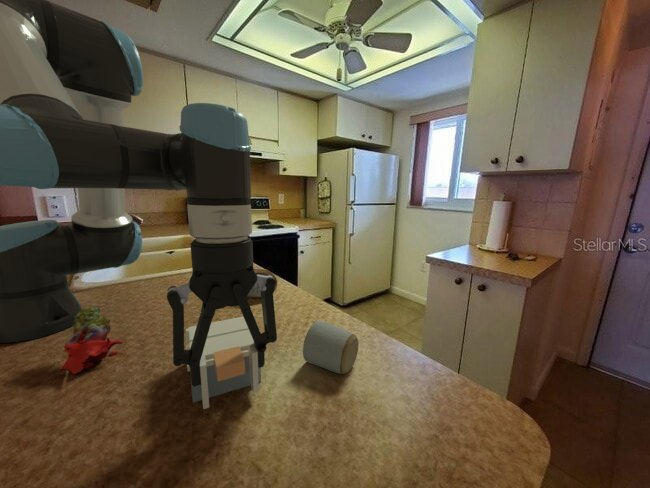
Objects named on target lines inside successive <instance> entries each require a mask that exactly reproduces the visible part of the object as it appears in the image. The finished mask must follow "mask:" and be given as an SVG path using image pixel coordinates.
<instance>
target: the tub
mask: <svg viewBox="0 0 650 488" xmlns="http://www.w3.org/2000/svg"><path fill="white" fill-rule="evenodd" d="M243 358H244V360H245V374H243V375H239V376H236V377H232V378H229V379H225V380H222V381H217V375H216V370H215V365H211V366H207V367H206V368H207V382H208V396H209V399H210V398H213V397H217V396H220V395H223V394H226V393H229V392H233V391H236V390H240V389H242V388H246V387H250V386H251V384H250V378H249V356H246V357H243ZM189 375H190V376H191V372H190V371H189ZM258 381H259V383H261V382H262V367H261V368H258ZM190 385H191V386H190V387H191V397H192V403H193V404H194V403H197V402H201V401H202V390H201V385H198V386H194V387H193V385H192V384H190Z"/></svg>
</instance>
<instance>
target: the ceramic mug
mask: <svg viewBox="0 0 650 488" xmlns="http://www.w3.org/2000/svg"><path fill="white" fill-rule="evenodd" d="M358 352H359V338H358V336H357V335H356V334H354V333H353V332H351V331H349V330H347V329H345V328H341V327H338V326H336V325H333V324H332V323H331V324H330V323H328V322H326V321H323V320H319V319H318V320H316V321H315V322H313V323H312V325H310V327H309V328H308V329H307V332H306V335H305V337H304V341H303V347H302V357H303V359H304V361H306V362H307V363H310V364H312V365H315V366H317V367H320V368H323V369H325V370H328V371H330V372H332V373H335V374H339V375H346V374H347V373H349V372H350V371H351V370H352V369H353V367H354V366H355V363H356V360H357V356H358Z"/></svg>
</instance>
